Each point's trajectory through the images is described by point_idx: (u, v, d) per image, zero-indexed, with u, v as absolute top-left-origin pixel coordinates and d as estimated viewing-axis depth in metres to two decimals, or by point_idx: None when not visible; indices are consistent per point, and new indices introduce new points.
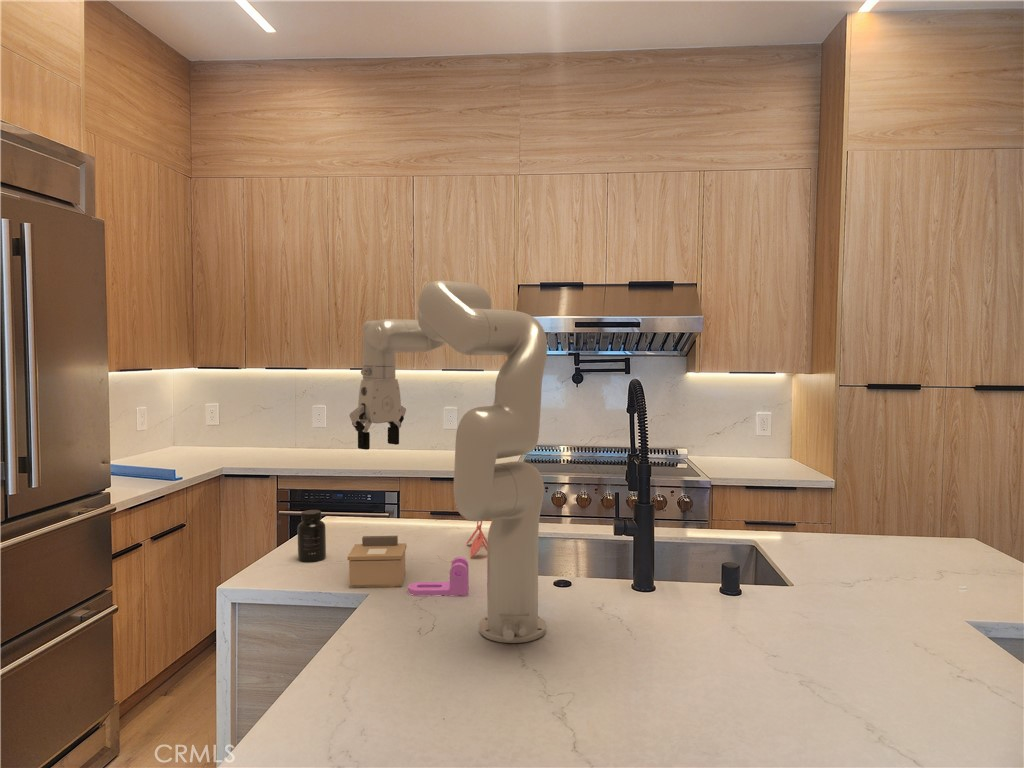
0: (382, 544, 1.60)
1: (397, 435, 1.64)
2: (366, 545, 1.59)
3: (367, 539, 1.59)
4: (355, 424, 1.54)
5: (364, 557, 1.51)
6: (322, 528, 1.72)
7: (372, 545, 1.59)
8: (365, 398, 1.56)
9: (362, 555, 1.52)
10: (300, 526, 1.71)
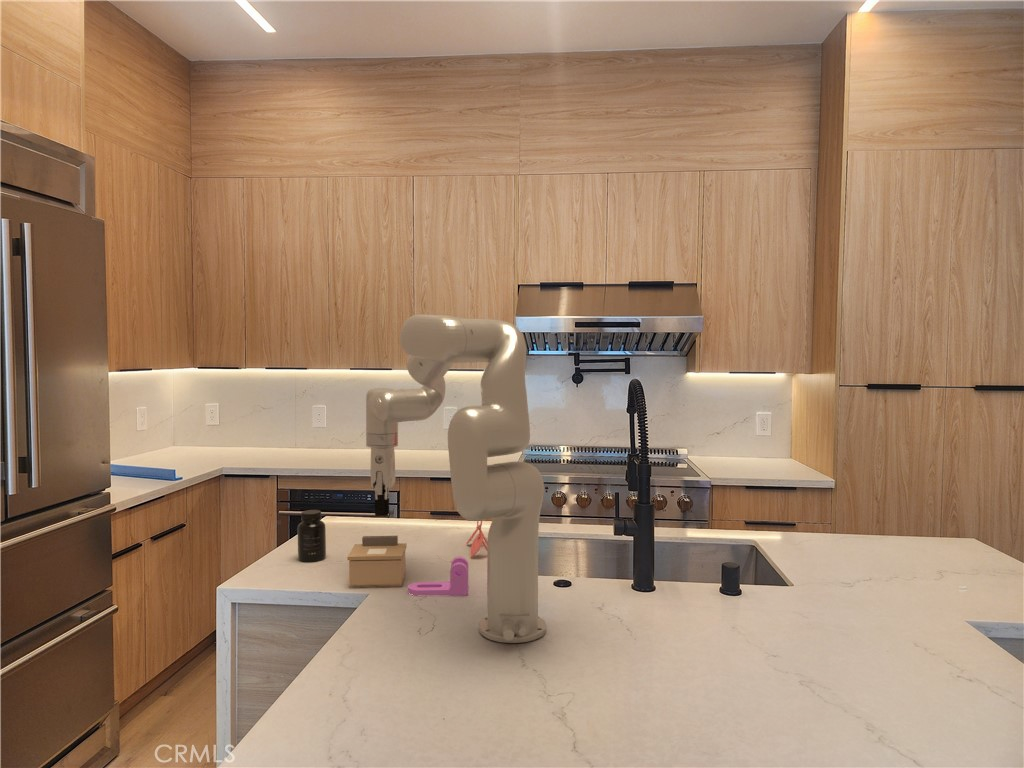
0: (382, 544, 1.60)
1: (388, 505, 1.66)
2: (366, 545, 1.59)
3: (367, 539, 1.59)
4: (381, 495, 1.63)
5: (364, 557, 1.51)
6: (322, 528, 1.72)
7: (372, 545, 1.59)
8: (382, 466, 1.60)
9: (362, 555, 1.52)
10: (300, 526, 1.71)
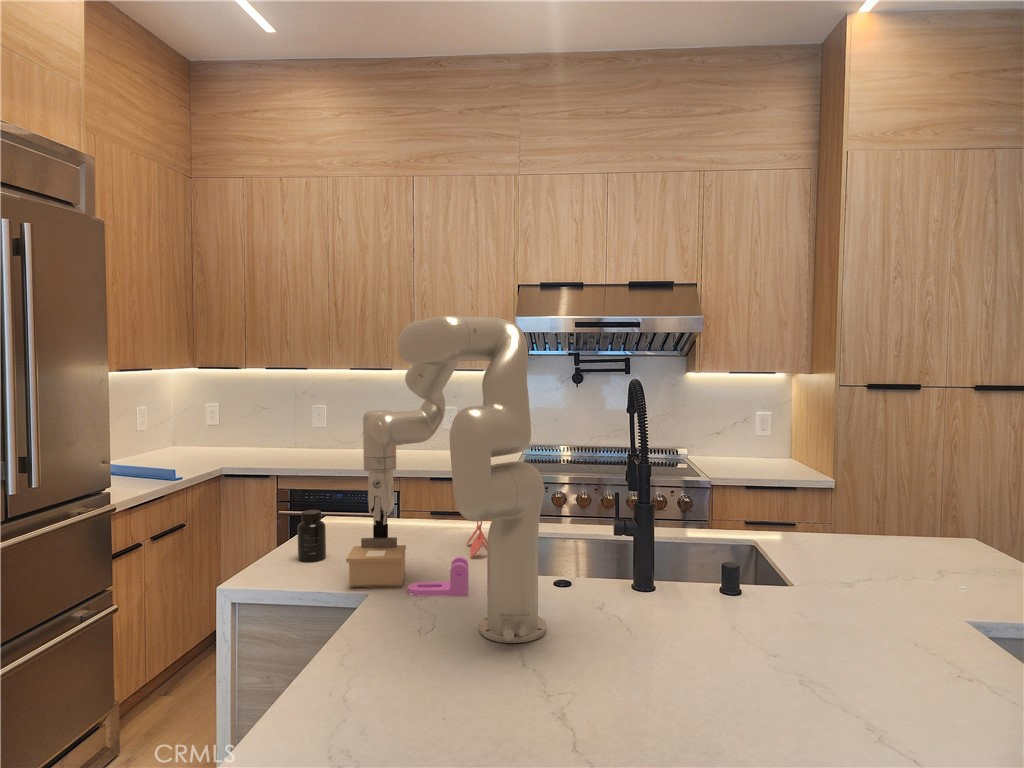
0: (381, 546, 1.58)
1: (387, 531, 1.61)
2: (365, 547, 1.58)
3: (366, 541, 1.58)
4: (379, 520, 1.58)
5: (363, 560, 1.50)
6: (322, 528, 1.72)
7: (371, 547, 1.58)
8: (380, 490, 1.56)
9: (361, 557, 1.51)
10: (300, 526, 1.71)
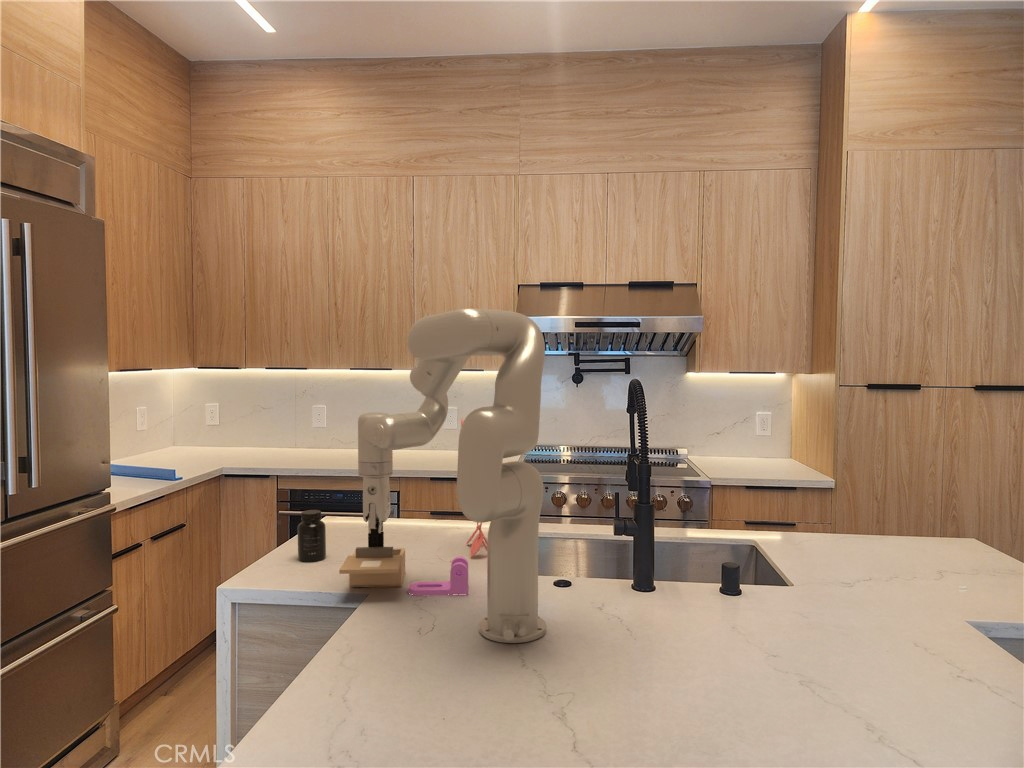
0: (377, 556, 1.50)
1: (383, 539, 1.53)
2: (360, 557, 1.50)
3: (361, 550, 1.50)
4: (374, 528, 1.50)
5: (357, 571, 1.42)
6: (322, 528, 1.72)
7: (366, 557, 1.50)
8: (375, 497, 1.48)
9: (355, 568, 1.43)
10: (300, 526, 1.71)
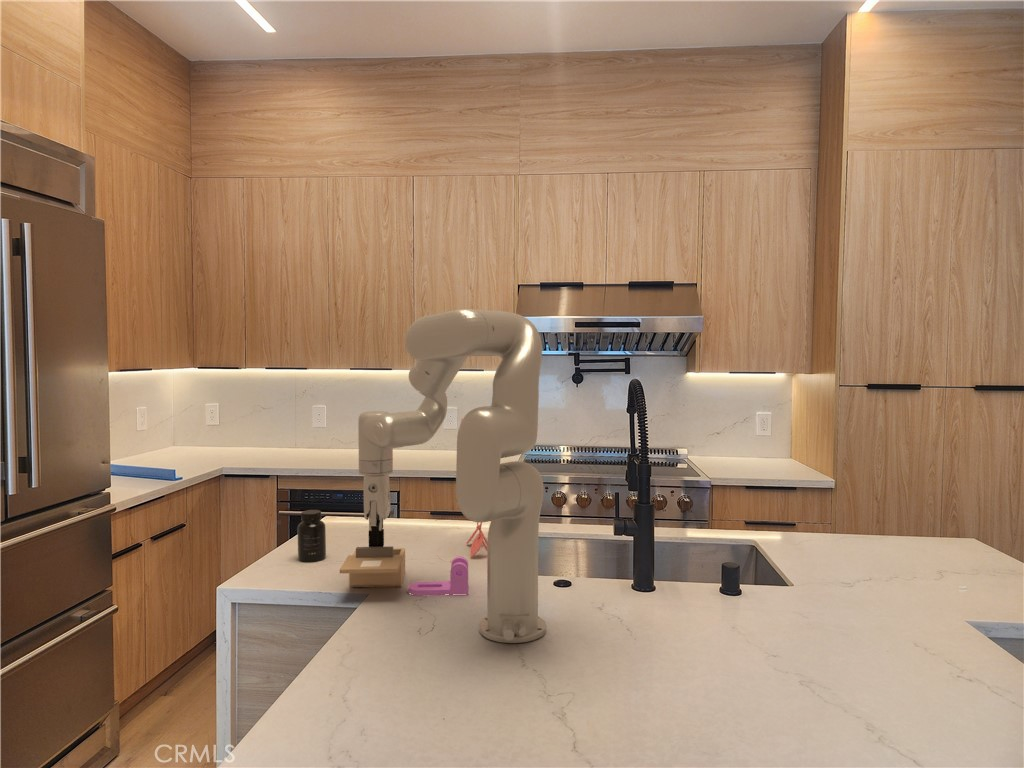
0: (377, 555, 1.51)
1: (383, 537, 1.55)
2: (360, 557, 1.50)
3: (361, 550, 1.50)
4: (375, 526, 1.51)
5: (358, 570, 1.42)
6: (322, 528, 1.72)
7: (366, 557, 1.50)
8: (376, 495, 1.49)
9: (355, 568, 1.43)
10: (300, 526, 1.71)
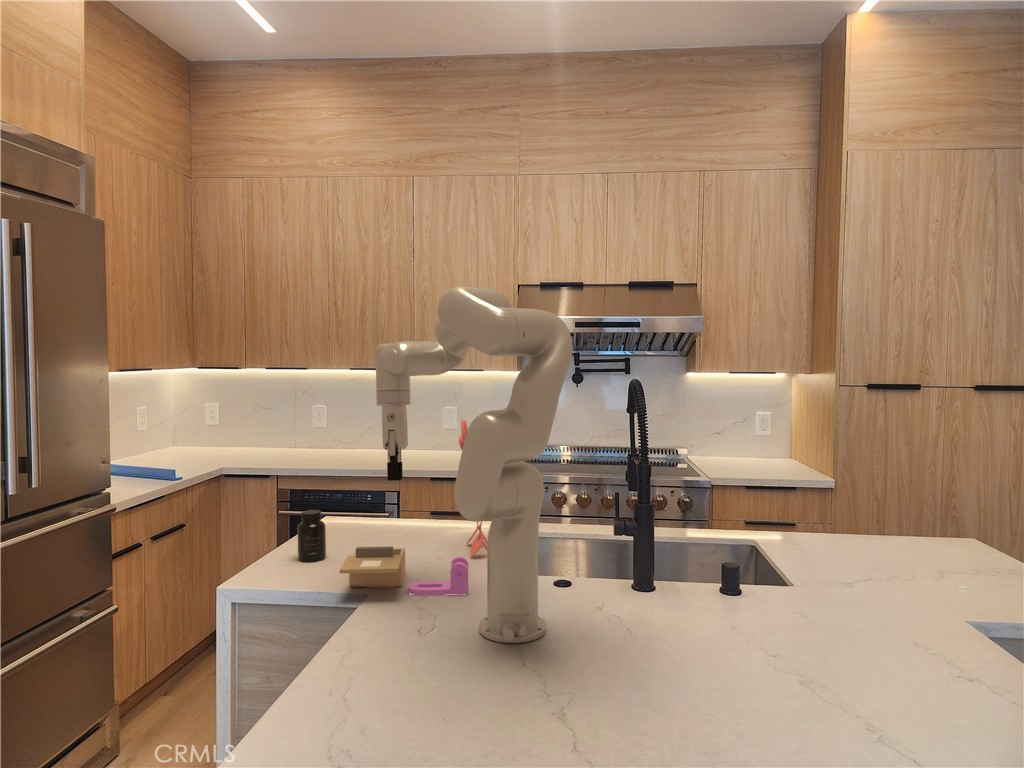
0: (377, 555, 1.51)
1: None
2: (360, 557, 1.50)
3: (361, 550, 1.50)
4: (394, 456, 1.51)
5: (358, 570, 1.42)
6: (322, 528, 1.72)
7: (366, 557, 1.50)
8: (394, 424, 1.49)
9: (355, 568, 1.43)
10: (300, 526, 1.71)
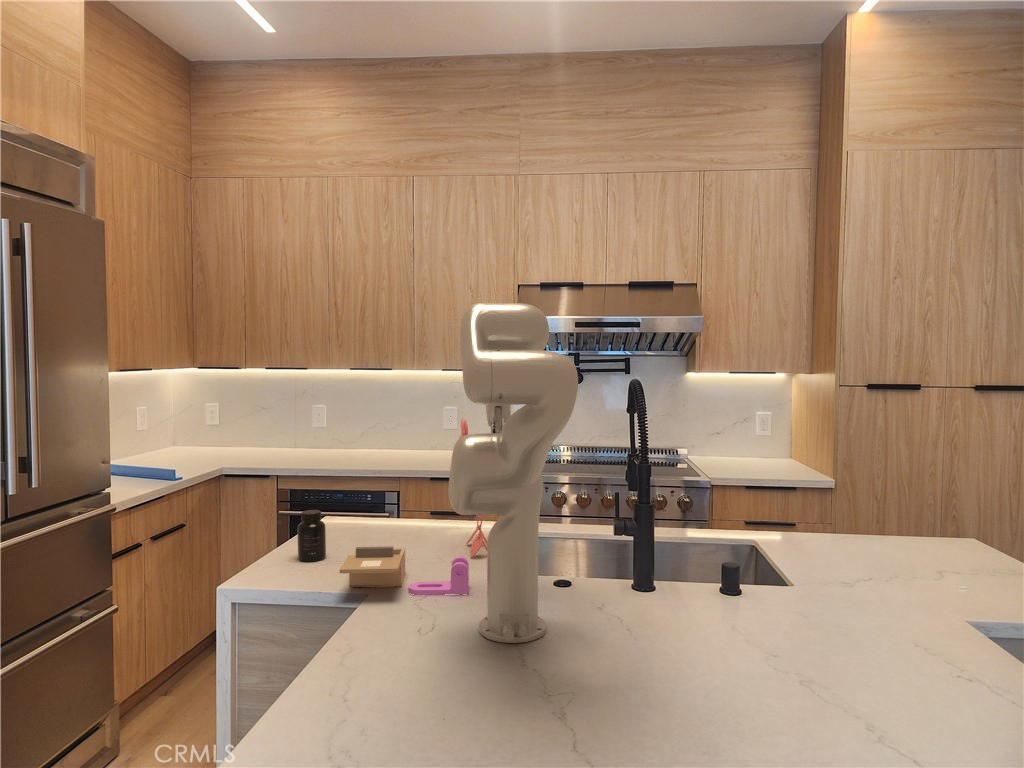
0: (377, 555, 1.51)
1: None
2: (360, 557, 1.50)
3: (361, 550, 1.50)
4: None
5: (358, 570, 1.42)
6: (322, 528, 1.72)
7: (366, 557, 1.50)
8: None
9: (355, 568, 1.43)
10: (300, 526, 1.71)
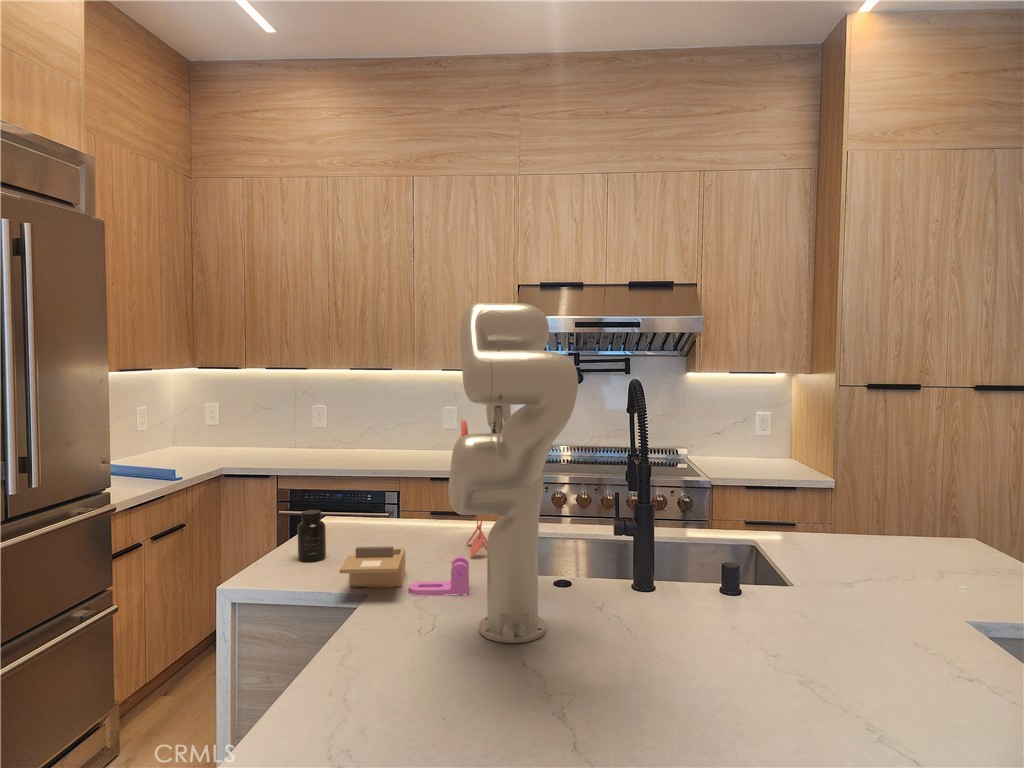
0: (377, 555, 1.51)
1: None
2: (360, 557, 1.50)
3: (361, 550, 1.50)
4: None
5: (358, 570, 1.42)
6: (322, 528, 1.72)
7: (366, 557, 1.50)
8: None
9: (355, 568, 1.43)
10: (300, 526, 1.71)
